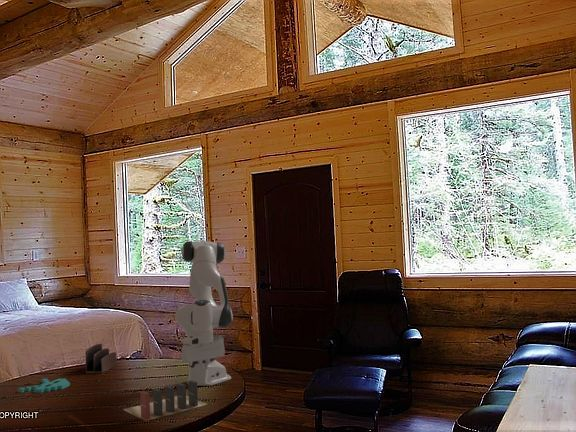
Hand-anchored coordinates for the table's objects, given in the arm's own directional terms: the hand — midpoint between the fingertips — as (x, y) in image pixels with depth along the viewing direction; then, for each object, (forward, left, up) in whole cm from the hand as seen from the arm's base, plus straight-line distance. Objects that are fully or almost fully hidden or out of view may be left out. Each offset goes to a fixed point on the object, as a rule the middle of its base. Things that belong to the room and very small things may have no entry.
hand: (204, 369), depth 240 cm
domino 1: (+22, 0, -14) cm, 26 cm away
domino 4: (+6, 0, -14) cm, 15 cm away
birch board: (+15, -7, -15) cm, 23 cm away
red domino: (+28, 0, -14) cm, 31 cm away
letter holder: (+5, -107, -15) cm, 109 cm away
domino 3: (+11, 0, -14) cm, 18 cm away
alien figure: (+40, -90, -16) cm, 99 cm away
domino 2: (+17, 0, -14) cm, 22 cm away
